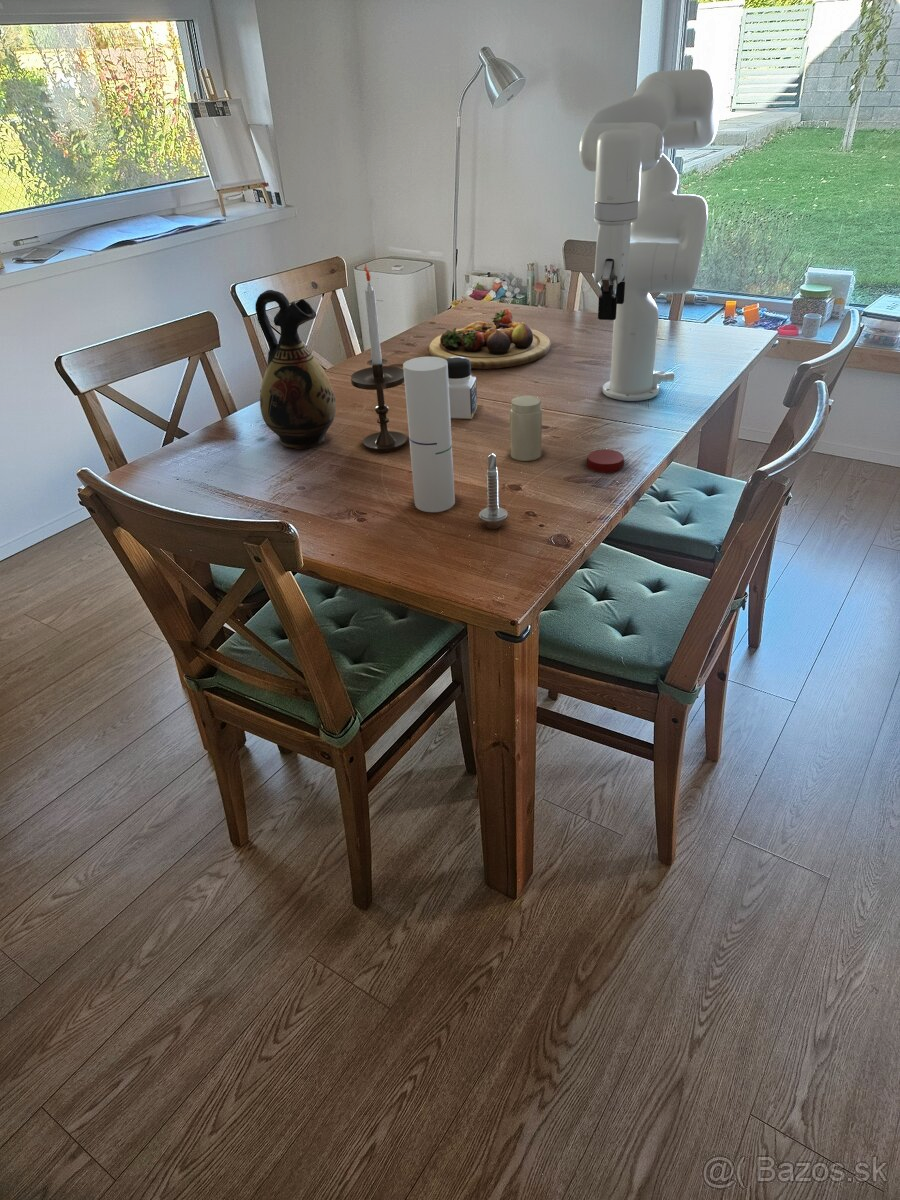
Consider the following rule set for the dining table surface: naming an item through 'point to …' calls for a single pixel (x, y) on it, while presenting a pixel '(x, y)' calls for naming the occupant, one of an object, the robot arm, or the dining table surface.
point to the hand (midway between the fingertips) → (611, 311)
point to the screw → (493, 498)
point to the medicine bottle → (461, 388)
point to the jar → (526, 428)
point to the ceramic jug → (293, 378)
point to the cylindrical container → (430, 432)
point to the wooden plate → (492, 343)
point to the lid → (605, 461)
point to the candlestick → (378, 382)
